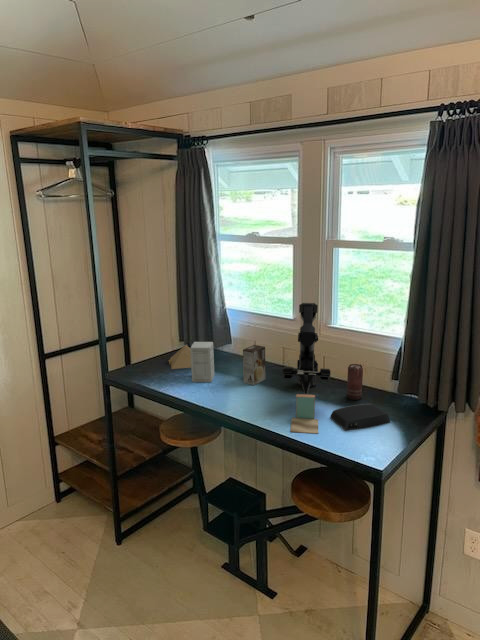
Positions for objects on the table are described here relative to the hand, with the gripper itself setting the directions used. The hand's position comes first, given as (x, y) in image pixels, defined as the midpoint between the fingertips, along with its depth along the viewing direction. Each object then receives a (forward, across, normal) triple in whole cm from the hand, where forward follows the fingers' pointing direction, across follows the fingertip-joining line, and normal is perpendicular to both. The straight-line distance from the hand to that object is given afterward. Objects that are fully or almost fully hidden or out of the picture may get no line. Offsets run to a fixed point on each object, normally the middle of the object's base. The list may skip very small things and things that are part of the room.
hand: (305, 393), depth 193 cm
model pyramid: (-31, +62, -43) cm, 81 cm away
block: (+9, 0, -2) cm, 9 cm away
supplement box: (-16, +48, -28) cm, 58 cm away
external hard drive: (+9, -21, -3) cm, 23 cm away
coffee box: (-16, +24, -27) cm, 39 cm away
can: (-6, -20, -18) cm, 28 cm away
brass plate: (+14, 0, +3) cm, 14 cm away
